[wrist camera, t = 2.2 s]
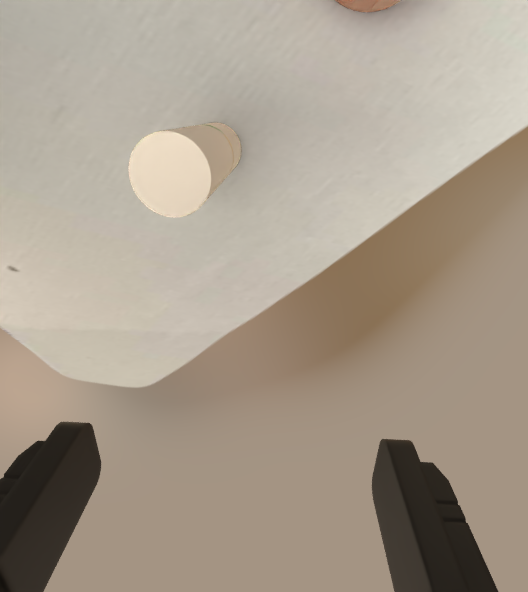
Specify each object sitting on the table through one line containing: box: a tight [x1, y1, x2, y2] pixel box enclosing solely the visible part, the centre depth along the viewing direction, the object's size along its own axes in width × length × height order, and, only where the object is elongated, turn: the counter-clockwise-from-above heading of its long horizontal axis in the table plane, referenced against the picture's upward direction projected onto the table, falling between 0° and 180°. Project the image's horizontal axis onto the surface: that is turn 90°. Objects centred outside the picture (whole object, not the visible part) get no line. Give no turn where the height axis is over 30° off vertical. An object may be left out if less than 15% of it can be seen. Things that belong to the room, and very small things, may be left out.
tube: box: [129, 123, 241, 217], centre depth 26 cm, size 4×4×15 cm
